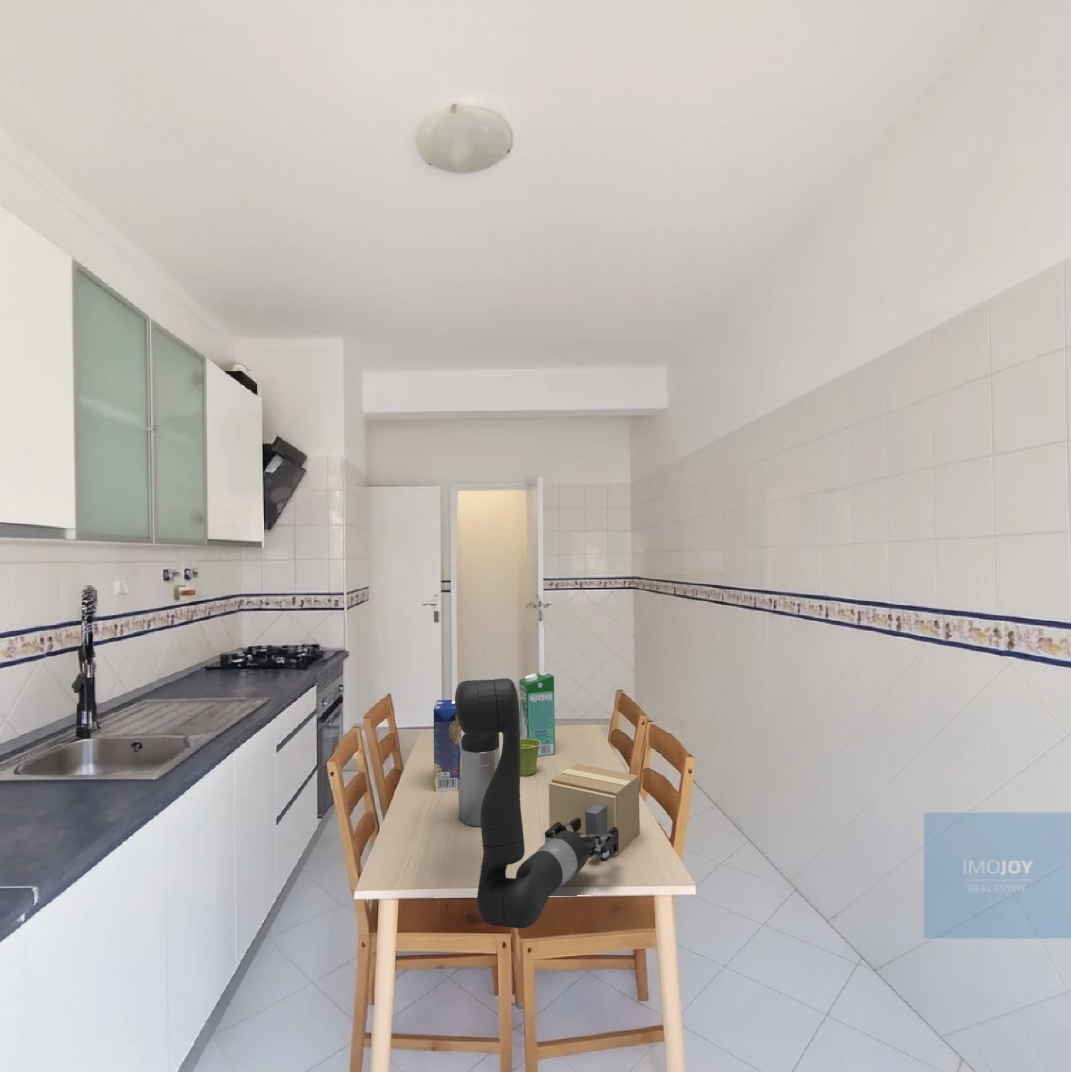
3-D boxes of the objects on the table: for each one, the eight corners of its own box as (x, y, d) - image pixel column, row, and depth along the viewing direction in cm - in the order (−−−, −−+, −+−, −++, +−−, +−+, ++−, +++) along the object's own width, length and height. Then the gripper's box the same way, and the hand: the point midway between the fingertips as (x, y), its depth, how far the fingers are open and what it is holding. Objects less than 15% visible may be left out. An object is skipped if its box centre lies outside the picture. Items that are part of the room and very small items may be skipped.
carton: (552, 837, 140) (551, 778, 140) (577, 818, 150) (576, 763, 151) (617, 855, 131) (617, 792, 132) (639, 833, 142) (638, 774, 142)
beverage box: (461, 776, 180) (460, 699, 180) (459, 790, 169) (458, 708, 169) (437, 777, 179) (437, 700, 180) (434, 791, 168) (433, 709, 169)
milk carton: (520, 749, 204) (519, 672, 205) (546, 746, 207) (545, 670, 207) (528, 757, 195) (527, 677, 196) (555, 754, 198) (554, 675, 199)
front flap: (537, 847, 135) (537, 790, 135) (551, 836, 140) (551, 782, 140) (604, 865, 126) (603, 805, 126) (617, 853, 131) (616, 796, 132)
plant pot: (508, 767, 186) (508, 738, 186) (540, 766, 187) (539, 737, 187) (509, 779, 177) (509, 748, 177) (542, 777, 178) (542, 747, 178)
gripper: (592, 848, 113) (628, 816, 127) (526, 831, 121) (567, 802, 134) (593, 890, 113) (629, 853, 127) (527, 870, 120) (567, 837, 134)
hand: (597, 827), depth 130 cm, fingers open, 8 cm apart
